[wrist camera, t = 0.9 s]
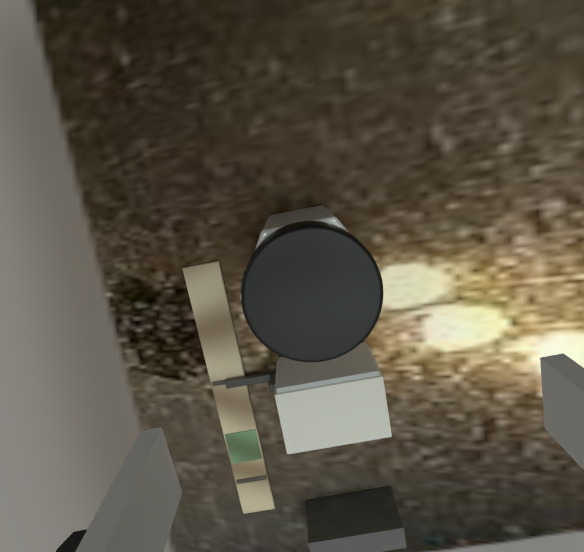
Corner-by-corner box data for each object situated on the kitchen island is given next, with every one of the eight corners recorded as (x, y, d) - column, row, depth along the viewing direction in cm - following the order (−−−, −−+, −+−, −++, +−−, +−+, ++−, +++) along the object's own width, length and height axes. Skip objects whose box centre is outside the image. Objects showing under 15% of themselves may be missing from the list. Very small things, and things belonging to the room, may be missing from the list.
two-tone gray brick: (306, 500, 42) (308, 543, 37) (390, 486, 42) (403, 527, 37) (309, 517, 43) (312, 562, 38) (393, 504, 42) (406, 547, 38)
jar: (231, 248, 37) (204, 285, 25) (306, 182, 36) (315, 188, 24) (302, 326, 38) (308, 395, 27) (376, 265, 37) (417, 309, 25)
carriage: (223, 366, 39) (212, 401, 33) (367, 340, 38) (381, 371, 32) (236, 421, 40) (228, 464, 34) (376, 397, 40) (391, 436, 34)
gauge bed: (183, 267, 37) (182, 268, 36) (219, 260, 37) (218, 261, 36) (243, 510, 42) (243, 514, 42) (274, 505, 42) (274, 509, 42)
